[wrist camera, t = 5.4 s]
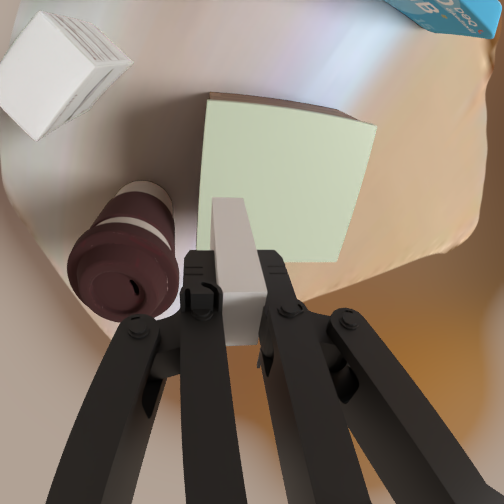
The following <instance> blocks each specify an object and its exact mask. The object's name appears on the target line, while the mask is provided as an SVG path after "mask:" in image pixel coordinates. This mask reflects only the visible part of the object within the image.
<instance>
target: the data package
mask: <svg viewBox="0 0 504 504" xmlns="http://www.w3.org/2000/svg"><path fill="white" fill-rule="evenodd" d="M384 1H385V2H387V3H388V4H390V5H391V6H393V7H394V8H396V9H397V10H399V11H400V12H402V13H403V14H405V15H406V16H407V17H409V18H410V19H412V20H413V21H414V22H416V23H417V24H418V25H420V26H421V27H422V28H424V29H426V30H428V31H430V32H434V33H444V34H455V35H464V36H472V37H479V38H486V39H492V38H494V35H495V32H496V29H497V25H498V22H499V18H500V14H501V11H502V6H501V4H500V2H499V1H498V0H384Z"/></svg>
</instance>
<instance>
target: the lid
mask: <svg viewBox="0 0 504 504" xmlns="http://www.w3.org/2000/svg"><path fill="white" fill-rule="evenodd" d="M376 130H377V126H376V125H374V124H371V123H367V122H362V121H358V120H353V119H349V118H344V117H339V116H334V115H329V114H324V113H319V112H313V111H307V110H301V109H295V108H288V107H281V106H273V105H265V104H257V103H247V102H237V101H225V100H210V99H207V105H206V114H205V125H204V135H203V147H202V159H201V172H200V186H199V201H198V219H197V239H196V250H210V231H211V209H212V197H229V198H243V199H244V203H245V207H246V211H247V215H248V218H249V222H250V226H251V230H252V234H253V238H254V242H255V245H256V249H257V250H275V251H276V252H277V253H278V254H279V255H280V256H281V257H282V258H283V261H284V262H337V259H338V256H339V253H340V250H341V247H342V244H343V242H344V239H345V236H346V233H347V229H348V226H349V223H350V220H351V217H352V214H353V211H354V208H355V204H356V201H357V198H358V194H359V191H360V188H361V184H362V181H363V178H364V174H365V171H366V167H367V163H368V160H369V156H370V153H371V149H372V145H373V141H374V137H375V133H376Z"/></svg>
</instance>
